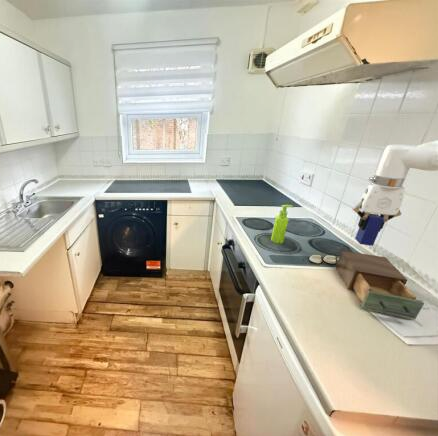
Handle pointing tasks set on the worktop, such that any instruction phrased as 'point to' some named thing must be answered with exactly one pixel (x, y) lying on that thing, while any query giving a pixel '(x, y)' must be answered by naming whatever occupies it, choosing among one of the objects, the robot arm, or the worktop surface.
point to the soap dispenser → (280, 225)
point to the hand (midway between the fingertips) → (368, 228)
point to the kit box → (370, 230)
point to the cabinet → (365, 267)
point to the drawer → (386, 296)
